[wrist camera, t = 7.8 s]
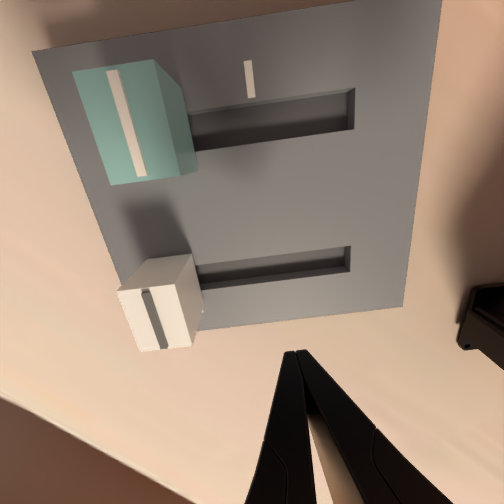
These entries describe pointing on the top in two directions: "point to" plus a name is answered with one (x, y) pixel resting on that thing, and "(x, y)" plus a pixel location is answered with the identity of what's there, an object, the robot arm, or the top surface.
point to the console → (274, 156)
